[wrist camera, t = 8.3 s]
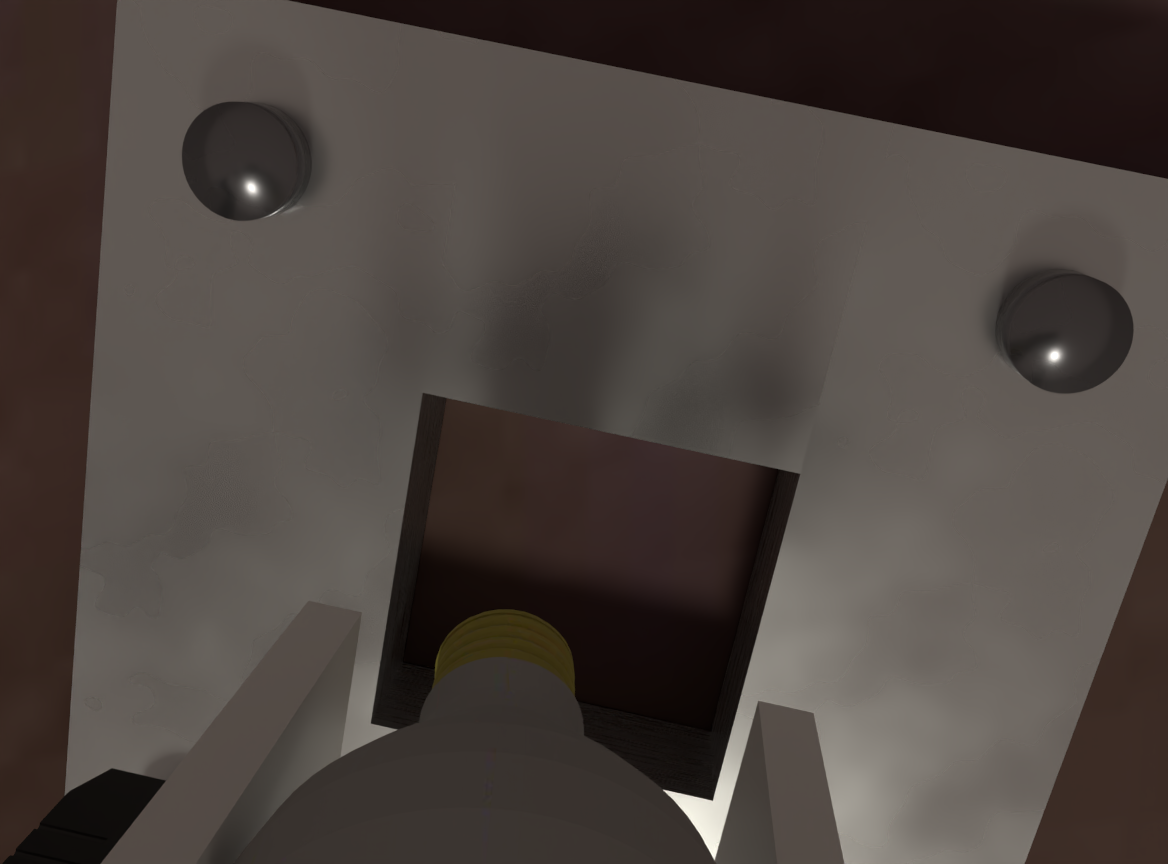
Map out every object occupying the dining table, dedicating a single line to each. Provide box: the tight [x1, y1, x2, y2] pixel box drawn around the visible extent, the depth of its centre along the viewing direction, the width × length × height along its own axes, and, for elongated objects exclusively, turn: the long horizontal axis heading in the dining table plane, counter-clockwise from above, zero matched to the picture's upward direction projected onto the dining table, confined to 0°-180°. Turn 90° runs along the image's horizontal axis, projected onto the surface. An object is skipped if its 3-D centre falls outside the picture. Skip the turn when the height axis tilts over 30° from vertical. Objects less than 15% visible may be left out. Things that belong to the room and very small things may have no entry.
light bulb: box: [234, 609, 716, 864], centre depth 13 cm, size 5×5×10 cm
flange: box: [65, 0, 1168, 864], centre depth 20 cm, size 18×18×3 cm
